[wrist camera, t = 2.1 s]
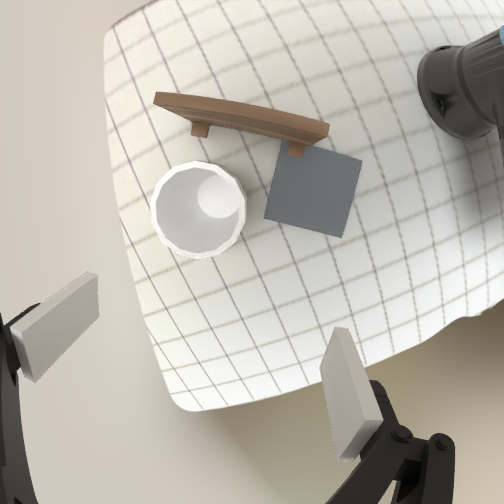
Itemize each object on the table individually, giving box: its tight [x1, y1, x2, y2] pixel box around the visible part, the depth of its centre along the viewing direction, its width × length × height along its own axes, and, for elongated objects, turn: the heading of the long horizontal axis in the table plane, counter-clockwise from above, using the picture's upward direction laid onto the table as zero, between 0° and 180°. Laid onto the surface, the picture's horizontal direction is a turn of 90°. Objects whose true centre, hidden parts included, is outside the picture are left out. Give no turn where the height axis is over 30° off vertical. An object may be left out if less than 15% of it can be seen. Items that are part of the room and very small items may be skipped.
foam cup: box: [150, 161, 247, 259], centre depth 34 cm, size 10×9×13 cm
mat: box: [264, 139, 362, 238], centre depth 39 cm, size 11×11×1 cm
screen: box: [153, 92, 330, 158], centre depth 30 cm, size 5×16×14 cm, turn 77°
